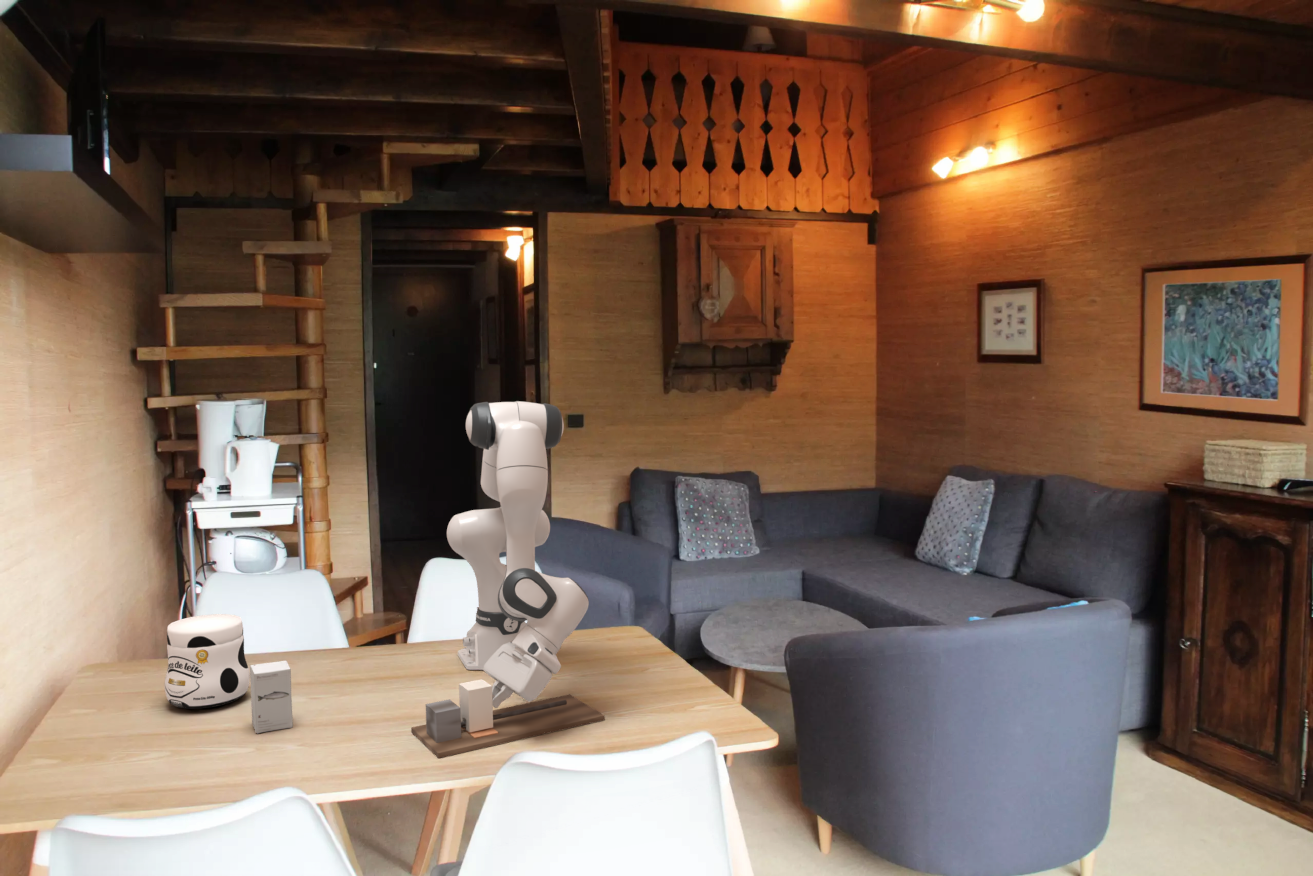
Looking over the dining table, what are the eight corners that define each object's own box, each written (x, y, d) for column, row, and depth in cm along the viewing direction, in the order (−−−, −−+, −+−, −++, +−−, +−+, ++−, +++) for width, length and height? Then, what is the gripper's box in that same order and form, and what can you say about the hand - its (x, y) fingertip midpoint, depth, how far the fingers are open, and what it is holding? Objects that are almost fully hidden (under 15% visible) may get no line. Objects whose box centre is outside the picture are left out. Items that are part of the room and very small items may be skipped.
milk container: (155, 718, 210) (151, 635, 209) (177, 692, 227) (173, 615, 226) (242, 711, 214) (238, 630, 213) (257, 686, 231) (253, 610, 229)
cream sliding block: (460, 724, 200) (458, 683, 199) (483, 719, 203) (482, 679, 202) (469, 732, 195) (468, 690, 195) (493, 727, 198) (492, 686, 198)
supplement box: (255, 734, 200) (252, 673, 199) (251, 723, 207) (249, 664, 206) (293, 728, 203) (291, 668, 202) (289, 717, 210) (286, 659, 209)
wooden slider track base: (411, 732, 200) (410, 698, 200) (569, 698, 219) (569, 667, 219) (438, 758, 187) (437, 722, 186) (604, 720, 206) (604, 687, 205)
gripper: (502, 629, 212) (461, 682, 208) (544, 652, 195) (499, 710, 190) (522, 646, 215) (481, 699, 210) (564, 670, 198) (521, 727, 193)
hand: (490, 704), depth 200 cm, fingers closed, pressing on cream sliding block
